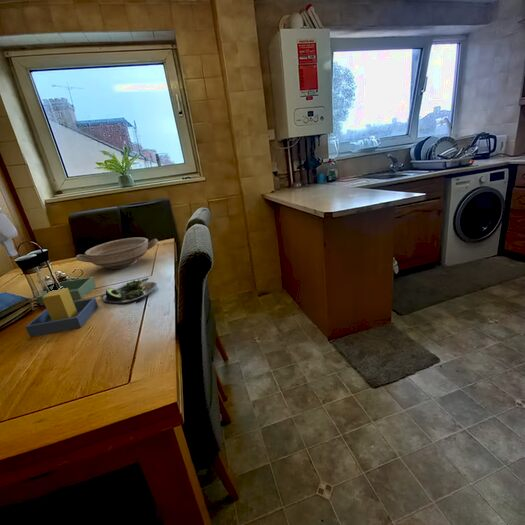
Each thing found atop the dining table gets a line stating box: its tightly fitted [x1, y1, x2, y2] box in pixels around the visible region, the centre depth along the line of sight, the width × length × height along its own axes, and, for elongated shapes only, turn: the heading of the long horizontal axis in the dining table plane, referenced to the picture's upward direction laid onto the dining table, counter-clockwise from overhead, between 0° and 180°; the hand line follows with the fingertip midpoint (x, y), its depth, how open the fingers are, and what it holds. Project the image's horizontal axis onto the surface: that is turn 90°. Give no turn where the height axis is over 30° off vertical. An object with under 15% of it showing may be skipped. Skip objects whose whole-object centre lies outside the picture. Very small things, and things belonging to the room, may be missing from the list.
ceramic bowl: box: [75, 236, 158, 270], centre depth 139 cm, size 37×29×10 cm
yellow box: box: [42, 288, 78, 321], centre depth 86 cm, size 5×5×10 cm
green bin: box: [36, 276, 96, 307], centre depth 108 cm, size 14×13×4 cm
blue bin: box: [25, 297, 99, 338], centre depth 88 cm, size 14×13×4 cm
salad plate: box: [99, 277, 158, 306], centre depth 103 cm, size 19×18×5 cm
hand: (4, 259), depth 82 cm, fingers open, 8 cm apart
